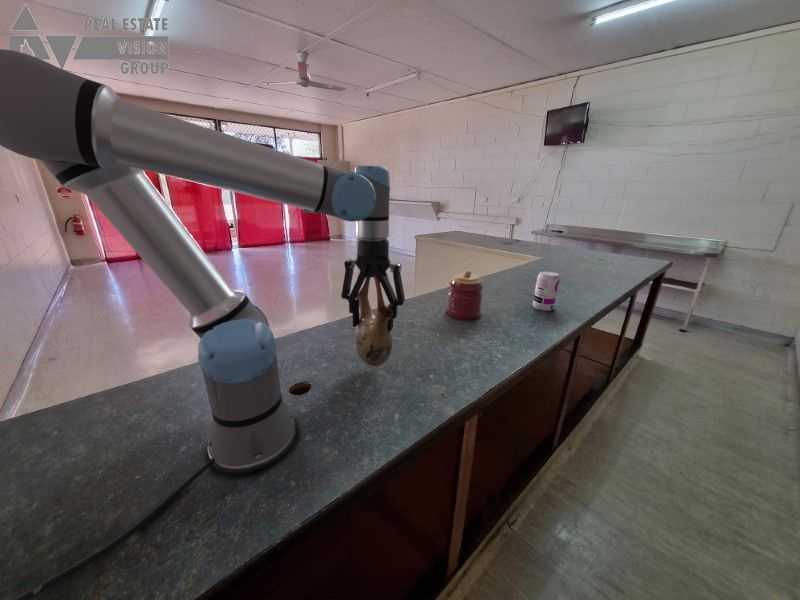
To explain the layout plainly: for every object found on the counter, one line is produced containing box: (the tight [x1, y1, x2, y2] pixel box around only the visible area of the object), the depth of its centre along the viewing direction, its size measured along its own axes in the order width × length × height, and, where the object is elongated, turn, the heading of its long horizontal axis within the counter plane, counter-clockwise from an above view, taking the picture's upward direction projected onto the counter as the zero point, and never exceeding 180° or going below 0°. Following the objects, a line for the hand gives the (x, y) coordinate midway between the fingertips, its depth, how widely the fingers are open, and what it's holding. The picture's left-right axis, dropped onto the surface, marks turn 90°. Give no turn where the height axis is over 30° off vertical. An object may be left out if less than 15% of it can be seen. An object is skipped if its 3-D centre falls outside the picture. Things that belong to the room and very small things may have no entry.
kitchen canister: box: [446, 269, 484, 321], centre depth 121 cm, size 13×13×18 cm
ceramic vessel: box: [354, 275, 393, 367], centre depth 80 cm, size 16×9×25 cm, turn 33°
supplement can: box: [532, 270, 561, 312], centre depth 130 cm, size 8×8×15 cm
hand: (373, 326), depth 81 cm, fingers closed on ceramic vessel, 8 cm apart
